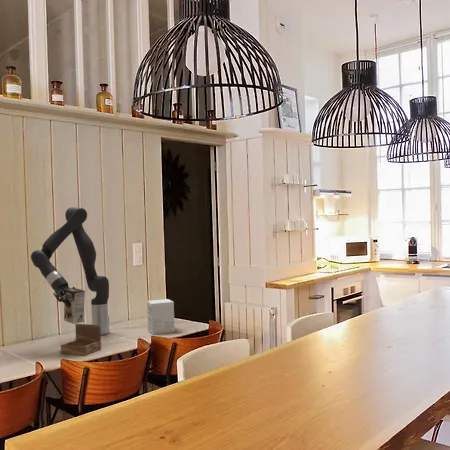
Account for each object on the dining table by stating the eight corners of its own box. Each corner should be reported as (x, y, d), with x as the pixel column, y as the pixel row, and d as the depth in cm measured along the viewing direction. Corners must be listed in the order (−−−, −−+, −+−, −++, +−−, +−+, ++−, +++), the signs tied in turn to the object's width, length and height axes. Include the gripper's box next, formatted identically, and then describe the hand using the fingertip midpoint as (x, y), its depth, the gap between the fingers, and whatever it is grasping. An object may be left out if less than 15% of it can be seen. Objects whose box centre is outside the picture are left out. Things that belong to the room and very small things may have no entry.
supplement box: (169, 327, 292) (168, 298, 292) (175, 332, 279) (174, 301, 279) (147, 330, 287) (146, 300, 287) (152, 334, 275) (151, 303, 275)
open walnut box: (77, 347, 251) (76, 323, 251) (101, 348, 246) (100, 325, 246) (61, 353, 239) (60, 328, 239) (85, 355, 234) (84, 330, 234)
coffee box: (63, 320, 247) (63, 289, 246) (74, 318, 251) (75, 287, 250) (73, 324, 240) (73, 291, 240) (84, 322, 245) (85, 290, 244)
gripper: (50, 278, 242) (69, 302, 238) (70, 275, 255) (89, 297, 251) (42, 288, 244) (61, 312, 240) (62, 285, 258) (81, 307, 253)
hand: (75, 305), depth 245 cm, fingers closed on coffee box, 8 cm apart
